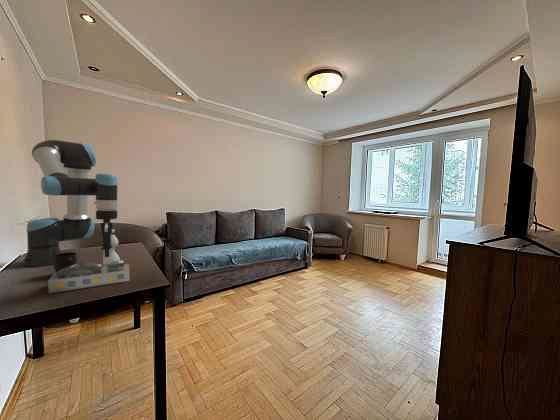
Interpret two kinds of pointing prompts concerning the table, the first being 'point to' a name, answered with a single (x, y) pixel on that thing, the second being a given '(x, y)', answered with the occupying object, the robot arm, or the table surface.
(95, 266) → the switch
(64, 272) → the switch
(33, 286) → the table surface
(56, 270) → the mug
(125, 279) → the console
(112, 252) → the figurine
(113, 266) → the switch
